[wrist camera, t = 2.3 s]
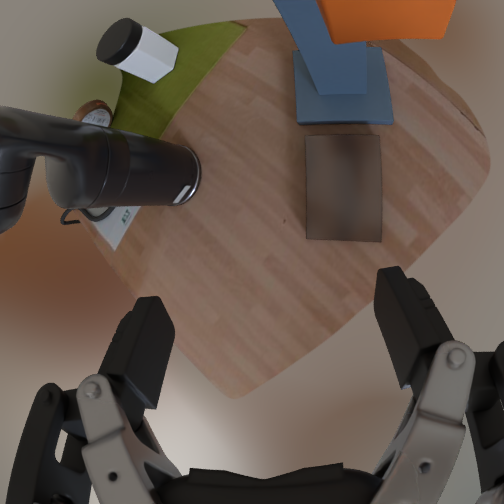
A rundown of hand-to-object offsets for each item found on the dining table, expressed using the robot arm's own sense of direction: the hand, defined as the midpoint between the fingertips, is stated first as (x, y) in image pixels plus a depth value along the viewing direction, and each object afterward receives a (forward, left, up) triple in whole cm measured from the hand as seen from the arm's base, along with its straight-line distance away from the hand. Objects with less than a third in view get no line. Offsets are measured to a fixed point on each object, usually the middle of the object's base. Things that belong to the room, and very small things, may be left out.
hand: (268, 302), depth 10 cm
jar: (-28, +31, -26) cm, 49 cm away
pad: (+1, +6, -26) cm, 27 cm away
